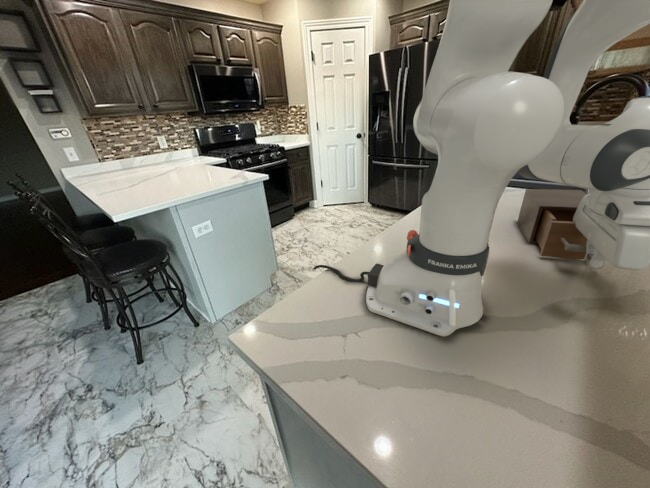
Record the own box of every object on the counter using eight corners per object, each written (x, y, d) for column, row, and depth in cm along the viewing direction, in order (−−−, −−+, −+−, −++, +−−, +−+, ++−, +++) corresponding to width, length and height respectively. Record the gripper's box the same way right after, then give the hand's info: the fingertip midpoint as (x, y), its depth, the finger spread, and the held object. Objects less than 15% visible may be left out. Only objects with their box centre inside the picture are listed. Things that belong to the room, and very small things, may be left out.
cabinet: (589, 248, 65) (607, 208, 60) (528, 243, 70) (539, 205, 65) (568, 224, 77) (581, 189, 72) (517, 222, 81) (525, 189, 77)
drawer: (615, 274, 54) (634, 236, 50) (547, 266, 58) (559, 231, 54) (579, 235, 69) (592, 204, 65) (527, 232, 73) (536, 202, 69)
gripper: (575, 182, 56) (555, 239, 62) (627, 218, 39) (593, 291, 46) (615, 182, 53) (590, 242, 60) (688, 221, 37) (643, 297, 43)
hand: (592, 263), depth 53 cm, fingers closed
